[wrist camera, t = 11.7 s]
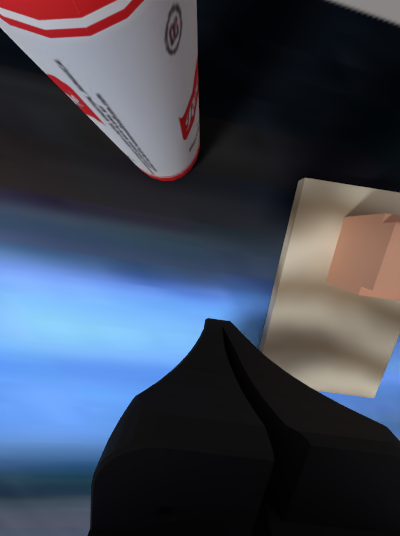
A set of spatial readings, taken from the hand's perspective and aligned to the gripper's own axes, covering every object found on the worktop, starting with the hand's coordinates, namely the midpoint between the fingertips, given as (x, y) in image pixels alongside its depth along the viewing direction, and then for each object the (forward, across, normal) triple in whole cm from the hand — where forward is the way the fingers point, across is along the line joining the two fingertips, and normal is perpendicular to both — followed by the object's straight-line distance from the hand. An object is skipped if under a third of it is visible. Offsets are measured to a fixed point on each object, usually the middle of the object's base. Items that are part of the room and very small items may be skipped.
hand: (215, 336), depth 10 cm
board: (+10, -14, 0) cm, 18 cm away
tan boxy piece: (+9, -14, -5) cm, 18 cm away
